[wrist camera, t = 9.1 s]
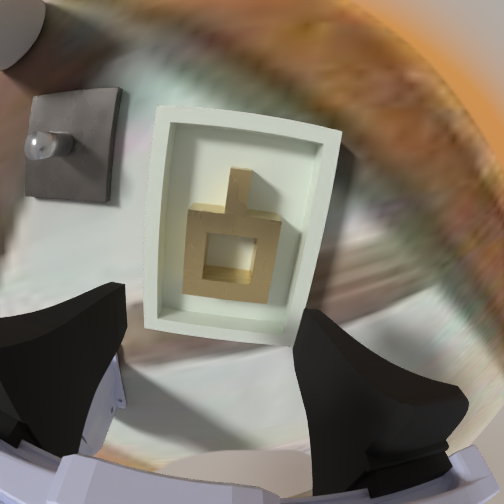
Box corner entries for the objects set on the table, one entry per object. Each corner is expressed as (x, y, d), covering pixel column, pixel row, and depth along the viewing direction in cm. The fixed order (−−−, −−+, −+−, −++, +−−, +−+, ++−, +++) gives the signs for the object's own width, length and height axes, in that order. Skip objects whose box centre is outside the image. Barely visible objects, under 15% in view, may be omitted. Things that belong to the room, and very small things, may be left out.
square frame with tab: (264, 287, 20) (266, 304, 18) (188, 278, 20) (182, 293, 18) (283, 173, 18) (289, 176, 16) (199, 162, 17) (192, 163, 15)
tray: (290, 329, 22) (294, 346, 20) (152, 312, 21) (144, 327, 19) (331, 133, 18) (342, 131, 15) (166, 110, 17) (156, 105, 15)
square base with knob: (110, 200, 18) (79, 213, 14) (31, 194, 18) (-4, 205, 14) (122, 89, 16) (93, 75, 12) (39, 97, 15) (4, 92, 11)
